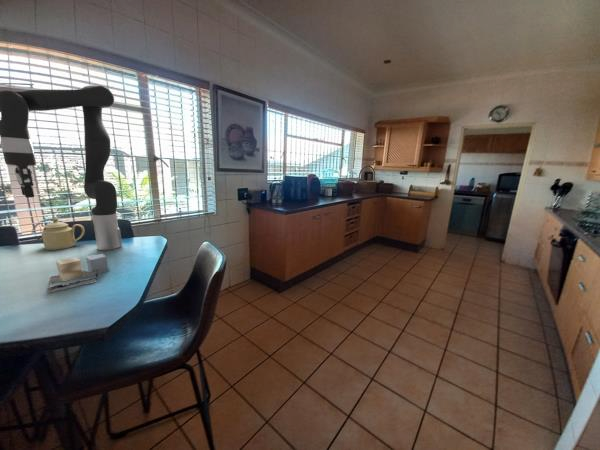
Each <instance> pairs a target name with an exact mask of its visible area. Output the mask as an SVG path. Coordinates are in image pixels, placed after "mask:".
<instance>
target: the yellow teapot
mask: <svg viewBox="0 0 600 450" xmlns="http://www.w3.org/2000/svg"><path fill="white" fill-rule="evenodd" d="M51 220H52V221H53V222H50V223H47V224H46V225H44V226H43V228H45V229H44V230H42V231H40V233H41V239H42V241H43V245H44V246H43V247H44V248H45V250H47V251H48V250H49V251H52V250H53V251H56V250H64V249H69V248H71V247H75V246H76V242H77V241H78V240H81V238H82V237H83V236H84V235H85V227H84V226H83V225H82V224H78V223H77V224H73V225H72V226H71V227H70V226H69V224H68V223H67V222H66V223H65V222H63V221H59V219H58V217H57V216H53V218H52V219H51ZM76 227H79V228H80V229H81V234H80V235H79V236H78V237H77V238H75V229H76Z"/></svg>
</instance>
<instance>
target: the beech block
mask: <svg viewBox="0 0 600 450" xmlns="http://www.w3.org/2000/svg"><path fill="white" fill-rule="evenodd" d="M55 263H56V267H57V272H58V275H59V277H60V278H61V279H62V282H66V281H70V280H74V279H79V278H83V277H82V276H83V273H82V271H83V269H82V263H81V259H79V258H78V257H76V256H74V257H70V258H69V257H68V258H65V259H61V260H60V259H59V260H56V261H55ZM78 277H79V278H78Z"/></svg>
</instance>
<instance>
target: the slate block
mask: <svg viewBox="0 0 600 450" xmlns="http://www.w3.org/2000/svg"><path fill="white" fill-rule="evenodd" d="M107 257H108V256H106V255H105V254H104V253H99V254H98V253H97V254H92V255H89V256H85V258H86V265H87V270H88V272H89V273H90V272H93V270H94V271H96V270H97V269H98V274H101V273H105V272H108V271H109V265H108V264H109V263H108V259H107Z"/></svg>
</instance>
